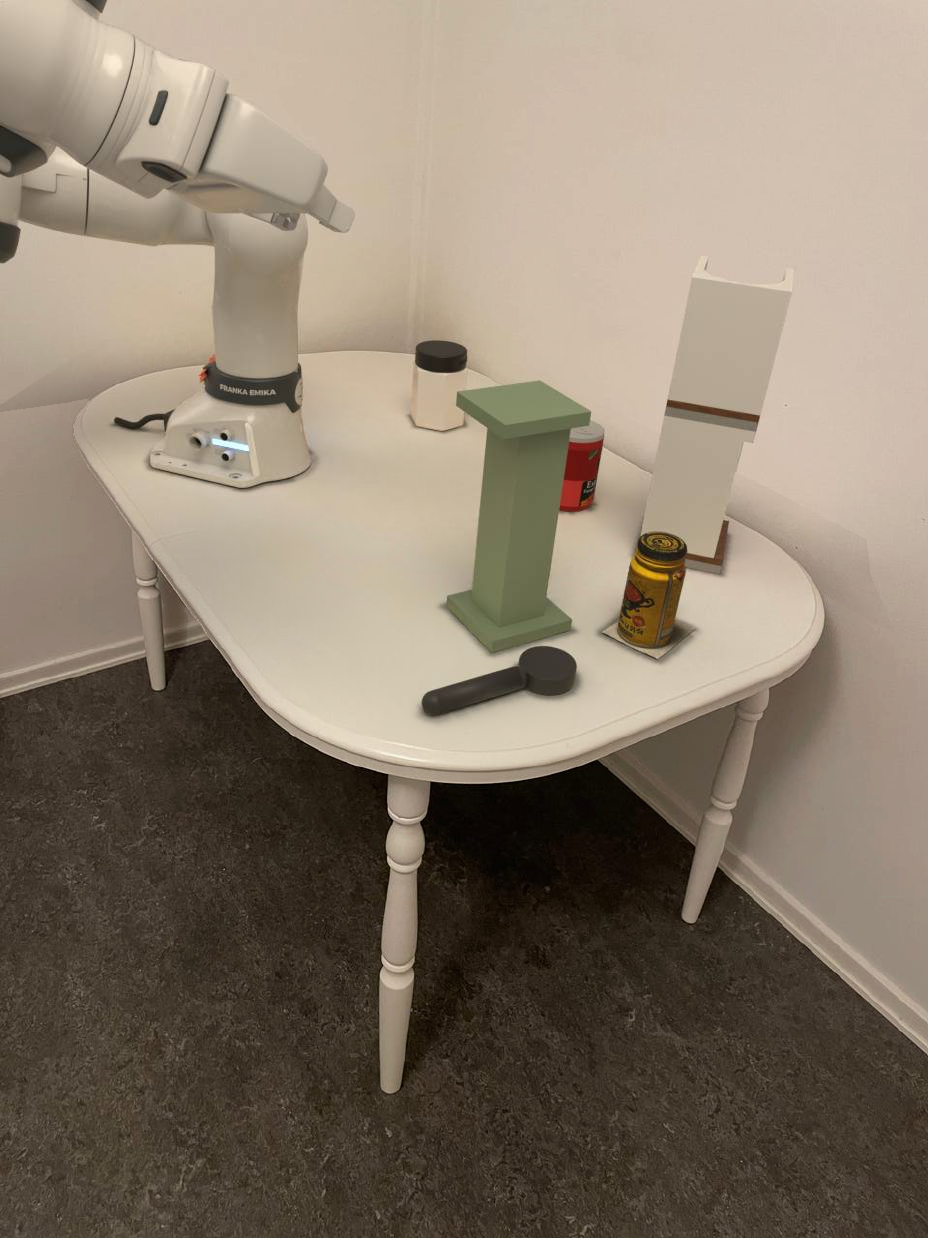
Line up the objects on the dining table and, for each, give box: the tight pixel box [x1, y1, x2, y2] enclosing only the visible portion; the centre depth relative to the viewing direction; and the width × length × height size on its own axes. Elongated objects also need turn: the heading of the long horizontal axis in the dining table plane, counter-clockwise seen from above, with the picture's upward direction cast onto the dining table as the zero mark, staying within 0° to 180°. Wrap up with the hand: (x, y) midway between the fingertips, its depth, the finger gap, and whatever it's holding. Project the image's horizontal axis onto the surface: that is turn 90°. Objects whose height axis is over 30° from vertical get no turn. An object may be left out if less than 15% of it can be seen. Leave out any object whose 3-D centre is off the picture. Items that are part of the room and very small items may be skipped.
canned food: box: [559, 419, 606, 513], centre depth 133 cm, size 8×8×11 cm
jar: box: [410, 339, 469, 432], centre depth 153 cm, size 9×8×12 cm
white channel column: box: [639, 255, 795, 575], centre depth 117 cm, size 11×11×35 cm
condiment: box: [601, 531, 696, 660], centre depth 106 cm, size 7×8×12 cm
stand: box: [445, 380, 592, 654], centre depth 102 cm, size 12×10×26 cm
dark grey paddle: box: [421, 645, 578, 716], centre depth 97 cm, size 18×6×2 cm, turn 120°
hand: (319, 222), depth 74 cm, fingers open, 8 cm apart
